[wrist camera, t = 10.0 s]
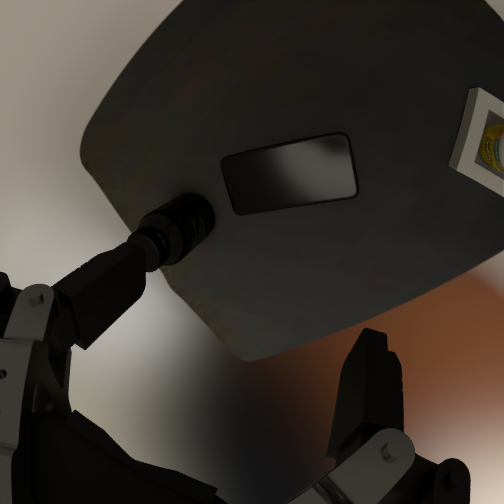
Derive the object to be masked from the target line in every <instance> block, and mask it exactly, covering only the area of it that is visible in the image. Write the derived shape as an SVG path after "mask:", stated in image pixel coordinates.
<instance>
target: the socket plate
mask: <svg viewBox="0 0 504 504" xmlns="http://www.w3.org/2000/svg"><path fill="white" fill-rule="evenodd" d="M490 123H494V124H502V125H504V103H503V102H502V101H500V100H499V99H497V98H496V97H494V96H492V95H491V94H489V93H488V92H486V91H484V90H483V89H481V88H473V89H469V93H468V97H467V102H466V106H465V110H464V114H463V118H462V122H461V125H460V129H459V133H458V136H457V139H456V143H455V146H454V149H453V152H452V156H451V159H450V162H449V165H448V166H449V167H451V168H453V169H455V170H456V171H458V172H460V173H462V174H464V175H466V176H468V177H470V178H472V179H473V180H475V181H477V182H479V183H481V184H483V185H484V186H486V187H488V188H489V189H491V190H493V191H495V192H496V193H498V194H500V195H501V196H503V197H504V173H502V172H500V171H497V170H495V169H493V168H491V167H489V166H488V165H486V164H485V163H484V162H483V161H482V160H481V158H480V156H479V154H478V152H477V151H478V148H479V145H480V141H481V138H482V134H483V130H484V127H485V125H486V124H490Z"/></svg>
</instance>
